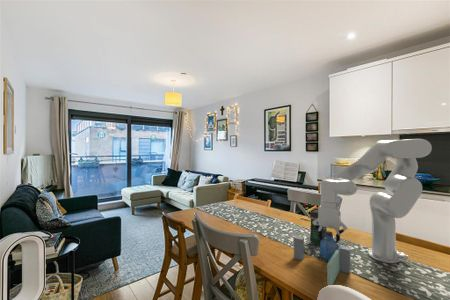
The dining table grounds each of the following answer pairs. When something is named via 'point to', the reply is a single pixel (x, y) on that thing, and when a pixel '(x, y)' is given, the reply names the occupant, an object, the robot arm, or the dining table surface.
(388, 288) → the dining table surface
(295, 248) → the door frame
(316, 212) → the coffee jar
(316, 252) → the dining table surface
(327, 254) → the perfume bottle
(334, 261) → the door
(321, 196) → the robot arm
